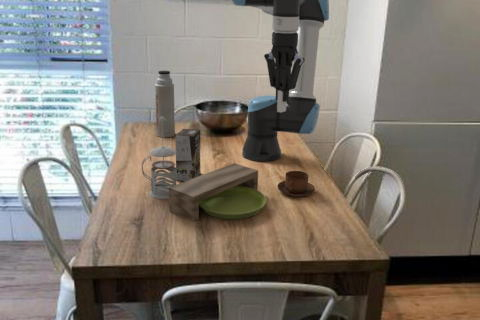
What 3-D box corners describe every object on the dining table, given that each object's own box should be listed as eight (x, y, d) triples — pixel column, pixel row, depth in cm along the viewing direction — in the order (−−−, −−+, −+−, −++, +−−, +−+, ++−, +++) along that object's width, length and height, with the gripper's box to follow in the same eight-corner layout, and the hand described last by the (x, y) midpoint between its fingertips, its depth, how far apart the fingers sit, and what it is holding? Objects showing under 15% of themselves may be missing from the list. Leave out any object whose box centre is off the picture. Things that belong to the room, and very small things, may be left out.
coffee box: (193, 182, 170) (193, 136, 165) (175, 180, 171) (174, 134, 166) (201, 173, 178) (201, 129, 173) (183, 171, 179) (183, 127, 174)
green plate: (203, 192, 162) (203, 183, 161) (267, 196, 160) (267, 187, 159) (191, 221, 143) (191, 210, 142) (264, 225, 141) (264, 215, 140)
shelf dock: (257, 192, 163) (258, 170, 160) (193, 221, 142) (193, 196, 139) (234, 184, 169) (234, 163, 167) (169, 211, 148) (168, 187, 145)
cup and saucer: (313, 201, 158) (315, 183, 156) (275, 197, 159) (276, 179, 157) (314, 187, 169) (316, 169, 167) (278, 184, 170) (280, 166, 168)
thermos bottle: (156, 137, 218) (154, 72, 209) (156, 132, 226) (155, 69, 216) (174, 137, 219) (173, 72, 210) (174, 132, 226) (173, 69, 217)
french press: (180, 198, 157) (179, 120, 149) (142, 199, 155) (139, 121, 147) (178, 186, 166) (177, 112, 158) (143, 187, 164) (139, 113, 156)
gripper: (259, 30, 146) (256, 109, 154) (297, 34, 138) (292, 117, 146) (274, 28, 151) (271, 105, 159) (311, 32, 143) (306, 112, 152)
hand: (281, 111), depth 153 cm, fingers closed
